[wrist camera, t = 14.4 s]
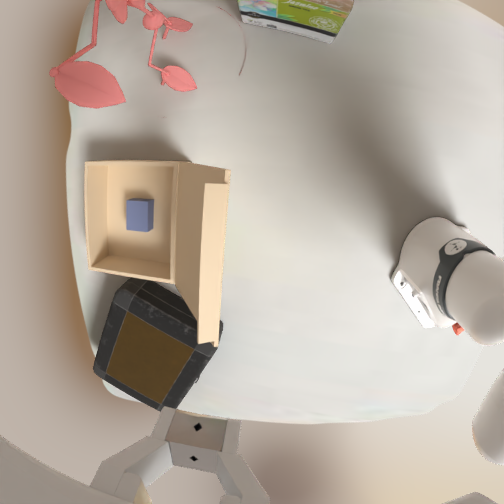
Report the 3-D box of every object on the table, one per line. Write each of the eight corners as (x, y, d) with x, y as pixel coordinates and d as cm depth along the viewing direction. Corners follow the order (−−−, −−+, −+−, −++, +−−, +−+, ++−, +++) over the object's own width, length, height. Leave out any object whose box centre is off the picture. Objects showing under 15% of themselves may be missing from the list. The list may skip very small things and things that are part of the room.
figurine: (157, 132, 43) (-21, 111, 10) (161, 4, 36) (60, -108, 2) (252, 124, 43) (209, 31, 9) (247, -8, 35) (222, -158, 1)
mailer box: (186, 267, 50) (174, 283, 44) (107, 256, 51) (88, 269, 44) (191, 161, 45) (178, 162, 38) (107, 159, 45) (84, 161, 39)
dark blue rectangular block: (153, 228, 48) (147, 232, 46) (132, 226, 48) (126, 229, 46) (154, 199, 46) (148, 201, 44) (133, 198, 47) (126, 200, 44)
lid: (162, 286, 43) (178, 284, 44) (198, 352, 29) (220, 348, 31) (165, 161, 37) (183, 161, 38) (205, 169, 24) (233, 170, 25)
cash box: (181, 396, 61) (172, 419, 54) (105, 353, 59) (90, 373, 52) (230, 323, 54) (223, 347, 46) (135, 269, 52) (116, 285, 44)
